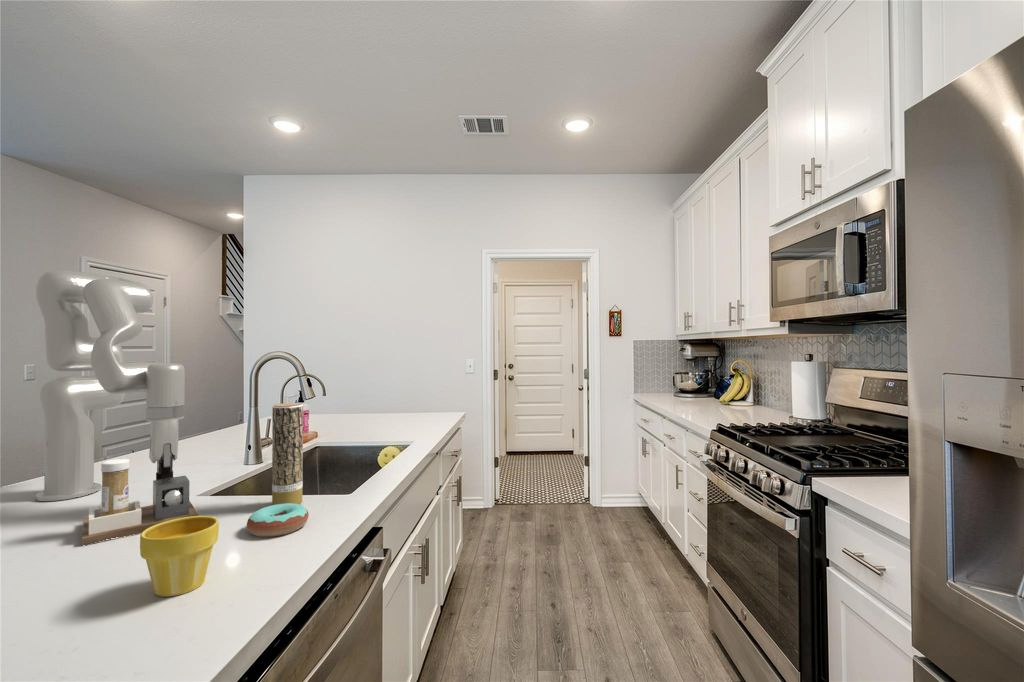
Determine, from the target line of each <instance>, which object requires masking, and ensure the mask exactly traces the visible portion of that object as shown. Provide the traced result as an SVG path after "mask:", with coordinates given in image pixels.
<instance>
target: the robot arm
mask: <svg viewBox="0 0 1024 682" xmlns="http://www.w3.org/2000/svg"><path fill="white" fill-rule="evenodd" d="M35 298H36V302H37V304H38V308H39V309H40V312H41V314H42V319H43V322H44V340H45V342H44V343H45V355H46V357H45V358H46V363H47V365H48V367H49V368H50V369H51V370H53V371H57V372H92V371H93V373H94V375H73V376H61V377H57V378H54V379H50V380H48V381H46V382H45V383H44V384H43V385H42V386H41V388H40V390H39V400H40V404H41V407H42V408H41V409H42V411H43V419H44V473H43V474H44V478H43V479H44V482H43V485H44V486H43V487H44V488H43V490H42V491H40V492H38V493H36V494H35V500H36V501H38V502H52V501H53V502H54V501H55V502H56V501H64V500H65V501H66V500H71V499H76V497H77V498H81V497H84V496H89V495H91V493H92V494H94V492H95V493H97V492H99V491H100V490H102V483H98V482H95V481H94V479H95V477H94V475H95V473H94V472H95V425H94V423H93V421H92V420H91V419H90V418H89V417H88V415H86V413H85V411H91V410H100V409H101V410H102V409H108V408H114V407H118V406H119V405H120V404H121V403H123V401H124V400H125V397H126V394H133V393H135V394H136V393H145V421H146V422H149V423H150V427H149V428H150V429H149V452H148V456H149V460H150V461H151V463H152V464H156V472H155V480H160V479H164V478H168V477H174V471H173V465H174V464H173V462H174V461H176V460H177V459H178V453H179V452H178V451H179V431H180V430H179V429H180V428H179V425H180V424H179V423H180V422H179V421H180V420H184V419H185V392H186V391H185V390H186V389H185V388H186V385H185V382H186V379H185V378H186V376H185V375H186V369H185V367H184V365H183V364H181V363H175V362H174V363H173V362H172V363H171V362H167V363H166V362H161V361H135V362H134V361H133V362H125V355H124V351H123V348H122V346H121V344H122V343H124V342H127V341H130V340H132V339H134V338H136V337H137V336H139V335H140V334H141V333H142V331H143V328H144V327H143V322H141V321H142V320H140V317H139V315H138V314H143V313H147V312H148V311H150V310H151V308H152V307H153V304H154V295H153V294H152V291H151V290H150V289H149V288H148V287H147V285H145V284H143V283H141V282H138V281H137V282H136V281H134V280H129V279H126V278H122V277H117V276H112V275H106V274H96V273H91V272H89V273H88V272H83V271H76V270H67V269H65V270H64V269H63V270H61V269H56V270H50V271H46V272H45V273H42V275H41V276H39V278H38V280H37V284H36V287H35ZM75 304H84V305H87V307H88V310H89V311H90V314H91V316H92V318H93V321H94V322H95V324H96V325H95V326H96V327H97V329H98V331H99V333H100V335H99V337H98V336H97V337H95V336H91V335H90V332H89V321H88V319H87V317H86V316H85V314H84V313H83V311H82V310H80V309H79V307H77V306H76V305H75ZM98 490H99V491H98ZM96 491H97V492H96ZM88 494H89V495H88Z"/></svg>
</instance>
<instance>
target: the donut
mask: <svg viewBox="0 0 1024 682" xmlns="http://www.w3.org/2000/svg"><path fill="white" fill-rule="evenodd" d="M308 520H309V511H308V509H307V508H306V507H305V506H304V505H303V504H293V503H286V504H277V505H269V506H266V507H262V508H260V509H258V510H256V511H254V512H252V514H250V516H249V517H248V519H247V521H246V529H247V530H248V532H249V533H250V535H253V536H256V537H259V538H271V537H272V538H273V537H280V536H284V535H285V536H286V535H289V534H291V533H293V532H294V533H295V532H296V531H298V530H299V529H301V528H302V527H304V526H305V525H306V524H307V522H308Z"/></svg>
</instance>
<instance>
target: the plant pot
mask: <svg viewBox="0 0 1024 682" xmlns="http://www.w3.org/2000/svg"><path fill="white" fill-rule="evenodd" d="M219 526H220V522H219V519H218V518H217V517H215V516H209V515H198V516H191V517H184V518H178V519H174V520H170V521H166V522H162V523H159V524H157V525H154V526H152V527H150V528H148V529H146V530H144V531H143V532H142V533H140V534H139V535H140V536H139V551H140V552H139V553H140V557H141V558H142V559H144V560H145V561H146V566H147V569H148V574H149V578H150V581H151V584H152V589H153V592H154V594H155V595H156V596H159V597H164V598H166V597H175V596H180V595H183V594H187V593H190V592H192V591H194V590H196V589H197V588H199V587H201V586H202V585H203V584H204V583H205V580H206V576H207V572H208V568H209V563H210V560H211V556H212V552H213V548H214V545H215V544H216V543H217V542H218V540H219V532H220V531H219V530H220V527H219Z"/></svg>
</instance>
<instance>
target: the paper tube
mask: <svg viewBox="0 0 1024 682" xmlns="http://www.w3.org/2000/svg"><path fill="white" fill-rule="evenodd" d="M271 417H272V418H271V419H272V427H271V428H272V431H271V432H272V436H271V437H272V438H271V439H272V440H271V442H272V443H271V444H272V446H271V453H272V454H271V455H272V456H271V457H272V458H271V466H272V467H271V468H272V469H271V472H272V473H271V477H272V478H271V483H272V484H271V500H272V501H271V504H272V505H277V504H286V503H293V504H299V505H302V504H301V503H303V486H304V485H303V483H304V481H303V478H304V477H303V473H304V471H303V463H304V460H303V458H304V456H303V453H304V452H303V451H304V449H303V447H304V446H303V445H304V444H303V443H304V439H303V438H304V434H303V432H304V405H303V403H302V402H287V403H286V402H284V403H275V404H273V405H272V416H271Z"/></svg>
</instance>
